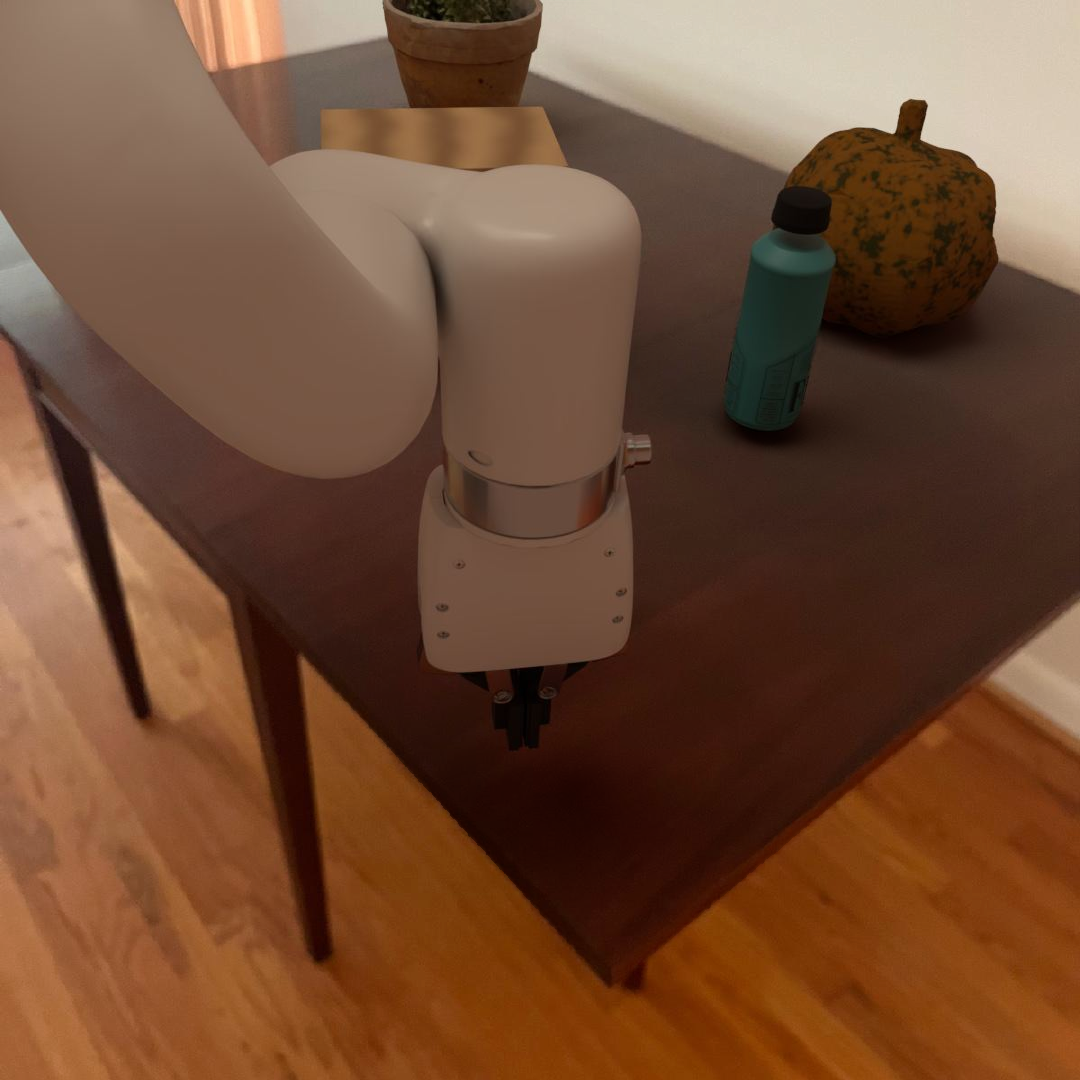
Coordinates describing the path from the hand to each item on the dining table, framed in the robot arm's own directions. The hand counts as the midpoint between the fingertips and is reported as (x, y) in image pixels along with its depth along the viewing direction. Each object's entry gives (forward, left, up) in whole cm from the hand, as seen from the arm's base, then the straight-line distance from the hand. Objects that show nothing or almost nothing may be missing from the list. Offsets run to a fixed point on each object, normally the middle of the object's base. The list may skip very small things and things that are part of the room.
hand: (519, 728), depth 58 cm
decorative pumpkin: (+42, +51, -5) cm, 66 cm away
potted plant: (+7, +96, -5) cm, 96 cm away
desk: (0, +46, -5) cm, 46 cm away
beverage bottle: (+25, +33, -5) cm, 41 cm away
